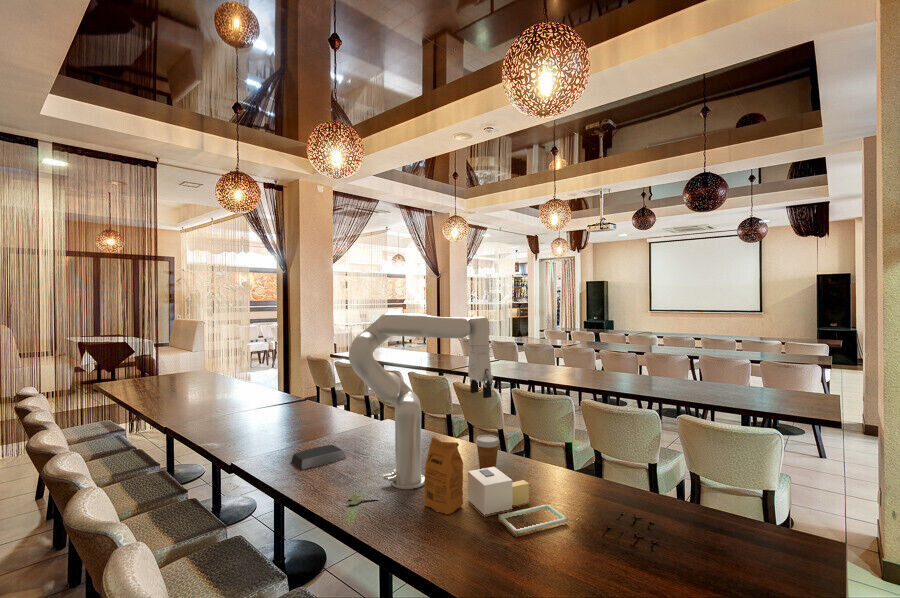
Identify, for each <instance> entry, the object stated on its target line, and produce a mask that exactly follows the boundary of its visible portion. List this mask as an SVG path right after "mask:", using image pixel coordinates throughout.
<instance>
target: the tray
mask: <svg viewBox="0 0 900 598" xmlns="http://www.w3.org/2000/svg"><path fill="white" fill-rule="evenodd" d="M543 509H545V510H546V509H548V512H552V513H554V515H557V516H558V517H559V518H560V519H559V518H558V519H557V520H555V519H554V520H553V521H549V522H545V523H540V524H536V525H532V526H528V527H524V528H520V529H516V528H515V527H514V526H513V525H512V524H511V523H509V522H508V521H507V520H506V519H505V518H508V517H512V516H517V515H522V514H526V513H530V512H535V511H539V510H543ZM549 510H550V511H549ZM545 512H546V511H545ZM526 515H527V514H526ZM499 519H500V520H502V521H503V522H504V523H505V524H506V525H507V526H508V527H509V528H510V529H511V530H512V531H513V532H514V533H515V534H518V533H523V532H527V531H531V530H535V529H539V528H544V527H548V526H552V525H556V524H560V523H563V522H567V521H568V517H566V515H563V514H562V513H561V512H559V511H558V510H557V509H555V508H554V507H553V506H551V505H550V504H548V503H546V504H542V505H536V506H533V507H529V508H524V509H519V510H515V511H512V512H507V513H503V514H498V520H499Z"/></svg>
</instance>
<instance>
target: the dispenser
mask: <svg viewBox="0 0 900 598" xmlns="http://www.w3.org/2000/svg"><path fill="white" fill-rule="evenodd" d="M512 482H513V479H512V478H510V477H509V476H508V475H507V474H505V473H503V472H502V471H501V470H499V469H498V468H497V467H496V468H495V467H489V468H484V469H480V468H477V469H473V470H468V471H467V501H468V500H469V501H470V502H471V503H473V504H474V505H475V506H476V507H477V508H478V509H479V510H480V511H481V512H482V513H483V514H484V515H485V514H490V513H494V512H499V511H504V510H509V509H513V508H512ZM469 501H468V502H469ZM470 502H469V503H470ZM471 503H470V504H471Z"/></svg>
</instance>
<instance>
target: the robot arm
mask: <svg viewBox="0 0 900 598" xmlns="http://www.w3.org/2000/svg"><path fill="white" fill-rule="evenodd" d="M489 327H490V326H489V319H488V317H487V316H471V317H466V316H465V317H464V316H454V317H448V316H447V317H444V316H434V315H428V314H424V313H402V312H391V311H389V312H388V311H387V312H384V313H383V314H381V315H380V316H379V317H378V318H377V319H376V320H375V321H373V323H372V324H370V325H369V326H367V328H365V329H364V330H363V331H361V332H360V333H359V334H357V335H356V336H355V337H354V339H353V340H352V342H351V344H350V348H349V352H348V361H349V364H350V367H351V368H352V371H353V372H354V373H355V374H356V375H357V376H358V377H359V378H360V379H361V380H362V381H363V382H364V384H365V385H366V386H367V387H368V388H369V389H370V390H371V391H372V392H373V393H374V394H375V395H376V397H377V398H378V399H380V400H381V401H383V402H386V403H390V404H391V405H392V407H393V408H394V429H395V430H394V441H395V442H394V443H395V444H394V445H395V451H394V455H395V460H394V461H395V466H394V467H395V469H394V468H393V470H392V472H390V473H385V474H382V480H383V481H386V480H387V482H391V483H390V484H391V485H392V486H393V488H396V489H399V490H413V489H414V488H415V489H418V488H420V487H423V486H424V479H425V475H424V474H422V406H421V400H420V398H419V397H418V395H417V394H416V393H415V392H414V391H413V389H411V387H409V385H407V383H406V382H405V381H404V380H402V378H400V376H398V375H397V374H396V373H395V372H391V371H389V372H388V371H387V370H386V369H385V368H384V367H383V366H382V365H381V363H380V362H378V361H377V360H376V359H375V357H374V353H375V351H376V350H377V349H378V348H379V347H380V346H381V345H382V344H383V343H385V342H386V341H387V340H389V338H391V337H414V338H438V339H457V340H459V339H464V338H467V336H468V344H469V345H468V346H469V347H468V349H469V354H468V363H467V364H468V365H467V368H468V370H467V372H468V373H467V375H468V376H467V377H468V378H469V383H470V384H469V385H470V393H471V394H475V393H479V382H482V384H483V387H482V397H483V399H488V398H492V386H493V381H494V380H493V379H494V375H493V373H492V368H491V367H492V366H491V358H490V352H491V351H490V328H489Z"/></svg>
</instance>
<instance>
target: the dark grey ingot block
mask: <svg viewBox="0 0 900 598" xmlns="http://www.w3.org/2000/svg"><path fill="white" fill-rule="evenodd" d="M343 458H345V459H346V458H347V456H346V453H345V451H344V450H343V449H341V448H340V447H338V446H336V445H335V444H328V445H322V446H317V447H313V448H308V449H305V450H301V451H298V452H295V453H294V454H293V455H292V458H291V462H290V463H293V464H294V465H295V466H297V467H298V468H299V469H301V470H302V469H303V470H307V468H308V469H310V467H312V468H315V466H316V467H319V465H320V466H323V465H322V464H324V465H327V464H326V463H328V464H330V463H329V462H332V463H334V462H333V461H335V462H337V461H336V460H338V461H341V460H340V459H342V460H344V459H343Z"/></svg>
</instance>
